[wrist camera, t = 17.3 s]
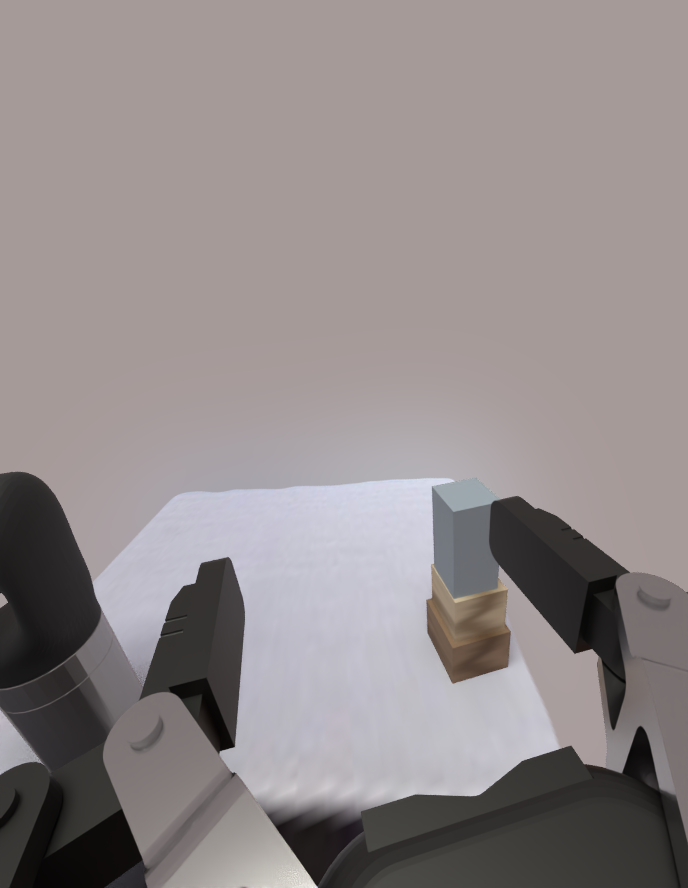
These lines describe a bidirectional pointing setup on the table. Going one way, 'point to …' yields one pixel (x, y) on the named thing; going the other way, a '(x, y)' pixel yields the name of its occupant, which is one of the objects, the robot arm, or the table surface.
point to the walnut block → (467, 649)
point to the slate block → (464, 537)
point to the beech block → (470, 610)
